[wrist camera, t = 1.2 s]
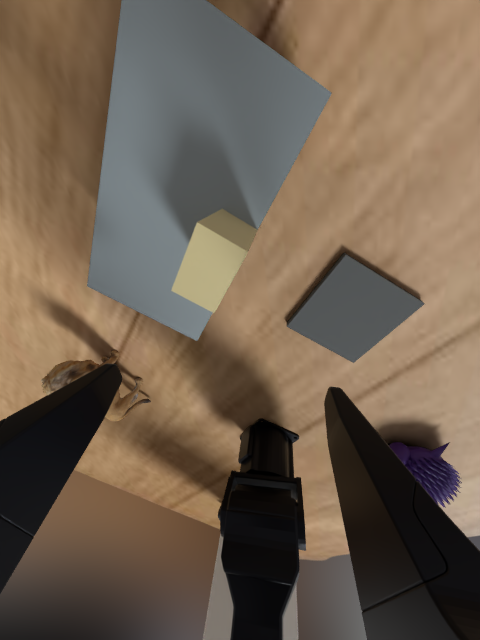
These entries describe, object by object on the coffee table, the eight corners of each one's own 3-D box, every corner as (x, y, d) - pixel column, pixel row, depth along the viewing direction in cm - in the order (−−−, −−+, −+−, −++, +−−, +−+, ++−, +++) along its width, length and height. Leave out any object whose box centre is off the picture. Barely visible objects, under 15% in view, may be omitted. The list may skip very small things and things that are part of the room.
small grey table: (310, 127, 14) (366, 35, 5) (219, 297, 21) (174, 385, 12) (195, 46, 13) (-2, -260, 4) (140, 255, 20) (30, 318, 11)
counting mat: (421, 300, 19) (424, 303, 18) (352, 358, 23) (353, 362, 23) (344, 252, 18) (346, 254, 17) (286, 323, 22) (286, 326, 22)
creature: (326, 474, 36) (344, 589, 26) (410, 416, 27) (491, 564, 16) (373, 491, 37) (409, 610, 27) (473, 441, 27) (588, 598, 17)
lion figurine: (78, 343, 28) (23, 388, 22) (100, 331, 27) (46, 377, 21) (142, 401, 33) (111, 452, 27) (163, 395, 31) (135, 447, 25)
